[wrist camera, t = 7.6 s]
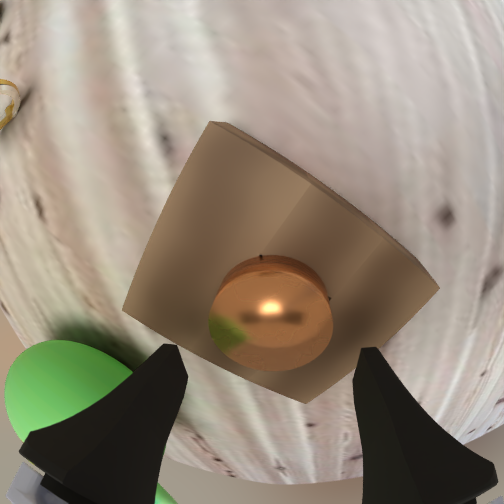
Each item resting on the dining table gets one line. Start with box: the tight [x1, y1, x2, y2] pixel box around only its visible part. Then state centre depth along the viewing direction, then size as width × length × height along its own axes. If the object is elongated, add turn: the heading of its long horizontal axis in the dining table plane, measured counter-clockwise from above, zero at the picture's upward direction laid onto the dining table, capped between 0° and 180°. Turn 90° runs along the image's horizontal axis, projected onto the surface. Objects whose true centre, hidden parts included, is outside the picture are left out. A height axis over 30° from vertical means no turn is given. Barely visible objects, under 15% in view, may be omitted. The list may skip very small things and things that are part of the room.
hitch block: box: [122, 121, 440, 404], centre depth 15 cm, size 14×12×4 cm
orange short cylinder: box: [208, 255, 333, 371], centre depth 14 cm, size 6×6×5 cm
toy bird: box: [5, 340, 178, 504], centre depth 18 cm, size 18×17×15 cm
